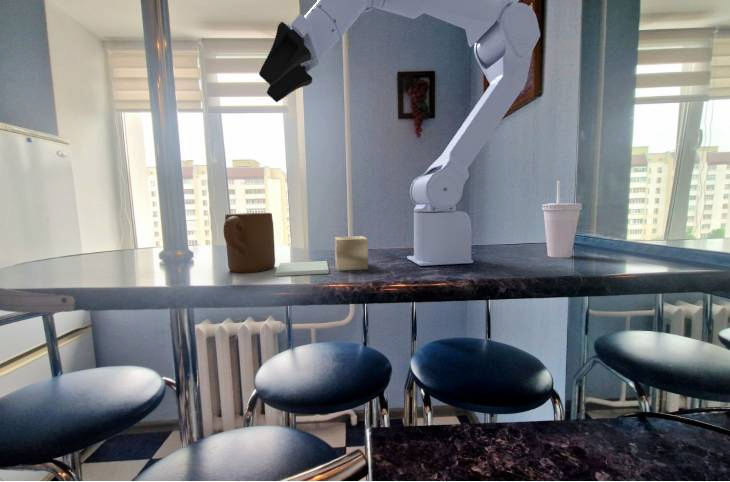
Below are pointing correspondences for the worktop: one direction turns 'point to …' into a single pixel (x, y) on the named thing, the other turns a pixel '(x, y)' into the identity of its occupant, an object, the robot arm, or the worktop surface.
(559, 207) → the smoothie
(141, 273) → the worktop surface
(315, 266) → the coaster
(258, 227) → the mug
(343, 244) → the oak block
